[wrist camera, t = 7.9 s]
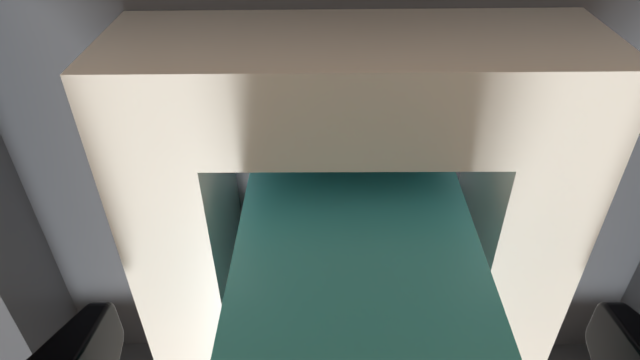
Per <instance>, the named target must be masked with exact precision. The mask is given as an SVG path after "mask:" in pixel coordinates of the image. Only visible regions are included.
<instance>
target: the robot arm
mask: <svg viewBox="0 0 640 360" xmlns="http://www.w3.org/2000/svg"><path fill="white" fill-rule="evenodd" d="M585 338H586V344H587V347H588V351H589V354H590V358H591V360H640V314H639V313H638V312H636V311H635V310H634V309H633V308H631V307H630V306H629V305H627V304H626V303H624V302H619V301H603V302H600V303H599V304H597V306H596V308H595V310H594V313H593V315H592V317H591V319H590V322H589V324H588V326H587V328H586V333H585ZM123 341H124V330H123V327H122V324H121V322H120V319H119V316H118V313H117V311H116V308H115V306H114V304H113V303H111V302H91V303H89V304H87V305H86V306H84V307H83V308H82V309H81V310H80V311H79V312H78V313H77V314H76V315H75V316H73V317H72V318H71V319H70V320H69V321H68V322H67V323H66V324H65V325H64V326H63V327H61V328H60V329H59V330H58V331H57V332H56V333H55V334H54V335H53V336H52V337H50V338H49V339H48V340H47V341H46V342H45V343H44V344H43V345H42V346H41V347H39V348H38V349H37V350H36V351H35V352H34V353H33V354H32V355H31V356H30V357H28V358H27V359H26V360H120V355H121V351H122V346H123Z"/></svg>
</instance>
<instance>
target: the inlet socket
mask: <svg viewBox="0 0 640 360" xmlns="http://www.w3.org/2000/svg"><path fill="white" fill-rule="evenodd" d="M60 77H61V80H62V83H63V86H64V89H65V92H66V95H67V98H68V101H69V104H70V107H71V110H72V113H73V117H74V120H75V123H76V126H77V129H78V132H79V135H80V138H81V141H82V144H83V147H84V150H85V153H86V156H87V159H88V162H89V165H90V168H91V171H92V174H93V177H94V180H95V183H96V186H97V189H98V192H99V195H100V198H101V202H102V205H103V208H104V211H105V214H106V217H107V220H108V223H109V226H110V229H111V232H112V235H113V238H114V241H115V244H116V247H117V250H118V253H119V256H120V259H121V262H122V265H123V268H124V271H125V274H126V277H127V280H128V283H129V287H130V290H131V293H132V296H133V299H134V302H135V305H136V308H137V311H138V314H139V317H140V320H141V323H142V326H143V329H144V332H145V335H146V338H147V341H148V344H149V347H150V350H151V353H152V356H153V359H154V360H210V359H211V355H212V350H213V345H214V340H215V336H216V331H217V326H218V321H219V316H220V312H221V307H222V302H223V297H224V293H225V288H226V283H227V278H228V274H229V269H230V264H231V259H232V254H233V250H234V245H235V240H236V235H237V231H238V226H239V221H240V216H241V210H240V203H239V195H238V187H237V180H236V173H258V172H460V177H459V183H460V186H461V189H462V192H463V194H464V197H465V200H466V203H467V206H468V208H469V211H470V214H471V217H472V220H473V223H474V225H475V228H476V231H477V234H478V237H479V239H480V242H481V245H482V248H483V251H484V254H485V256H486V259H487V262H488V265H489V268H490V270H491V273H492V276H493V279H494V282H495V285H496V287H497V290H498V293H499V296H500V299H501V301H502V304H503V307H504V310H505V313H506V316H507V318H508V321H509V324H510V327H511V330H512V333H513V335H514V338H515V341H516V344H517V347H518V349H519V352H520V355H521V358H522V360H548V357H549V355H550V352H551V350H552V347H553V345H554V342H555V340H556V338H557V335H558V333H559V330H560V328H561V325H562V323H563V320H564V318H565V315H566V313H567V311H568V308H569V306H570V303H571V301H572V298H573V296H574V293H575V291H576V288H577V286H578V284H579V281H580V279H581V276H582V274H583V271H584V269H585V266H586V264H587V261H588V259H589V257H590V254H591V252H592V249H593V247H594V244H595V242H596V239H597V237H598V234H599V232H600V230H601V227H602V225H603V222H604V220H605V217H606V215H607V212H608V210H609V207H610V205H611V203H612V200H613V198H614V195H615V193H616V190H617V188H618V185H619V183H620V180H621V178H622V176H623V173H624V171H625V168H626V166H627V163H628V161H629V158H630V156H631V153H632V151H633V149H634V146H635V144H636V141H637V139H638V136H639V134H640V51H638V50H637V49H636V48H635V47H633V46H632V45H631V44H629V43H628V42H627V41H626V40H624V39H623V38H622V37H620V36H619V35H618V34H617V33H615V32H614V31H613V30H611V29H610V28H609V27H608V26H606V25H605V24H604V23H603V22H601V21H600V20H599V19H597V18H596V17H595V16H594V15H592V14H591V13H590V12H588V11H587V10H586V9H585V8H583V7H559V8H433V9H307V10H181V11H123V12H122V13H121V14H120V15H119V16H118V17H117V18H116V19H115V20H114V21H113V22H112V23H111V24H110V25H109V26H108V27H107V28H106V29H105V30H104V31H103V32H102V33H101V34H100V35H99V36H98V37H97V38H96V39H95V40H94V41H93V42H92V43H91V44H90V45H89V46H88V47H87V48H86V49H85V50H84V51H83V52H82V53H81V54H80V55H79V56H78V57H77V58H76V59H75V60H74V61H73V62H72V63H71V64H70V65H69V66H68V67H67V68H66V69H65V70H64V71H63V72H62V73H61V74H60Z"/></svg>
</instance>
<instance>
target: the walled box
mask: <svg viewBox="0 0 640 360" xmlns="http://www.w3.org/2000/svg"><path fill="white" fill-rule="evenodd" d="M559 7H583V8H585V9H586V10H587V11H588V12H590V13H591V14H592V15H594V16H595V17H596V18H597V19H599V20H600V21H601V22H603V23H604V24H605V25H606V26H608V27H609V28H610V29H611V30H613V31H614V32H615V33H617V34H618V35H619V36H620V37H622V38H623V39H624V40H626V41H627V42H628V43H629V44H631V45H632V46H633V47H635V48H636V49H637V50H638V51H640V0H0V360H26V359H27V358H28V357H30V356H31V355H32V354H33V353H34V352H35V351H36V350H37V349H38V348H39V347H41V346H42V345H43V344H44V343H45V342H46V341H47V340H48V339H49V338H50V337H52V336H53V335H54V334H55V333H56V332H57V331H58V330H59V329H60V328H61V327H63V326H64V325H65V324H66V323H67V322H68V321H69V320H70V319H71V318H72V317H73V316H75V315H76V314H77V313H78V312H79V311H80V310H81V309H82V308H83V307H84V306H86V305H87V304H89V303H91V302H111V303H113V304H114V306H115V308H116V311H117V313H118V316H119V319H120V322H121V324H122V327H123V330H124V341H123V346H122V351H121V355H120V360H154V359H153V356H152V353H151V350H150V347H149V344H148V341H147V338H146V335H145V332H144V329H143V326H142V323H141V320H140V317H139V314H138V311H137V308H136V305H135V302H134V299H133V296H132V293H131V290H130V287H129V283H128V280H127V277H126V274H125V271H124V268H123V265H122V262H121V259H120V256H119V253H118V250H117V247H116V244H115V241H114V238H113V235H112V232H111V229H110V226H109V223H108V220H107V217H106V214H105V211H104V208H103V205H102V202H101V198H100V195H99V192H98V189H97V186H96V183H95V180H94V177H93V174H92V171H91V168H90V165H89V162H88V159H87V156H86V153H85V150H84V147H83V144H82V141H81V138H80V135H79V132H78V129H77V126H76V123H75V120H74V117H73V113H72V110H71V107H70V104H69V101H68V98H67V95H66V92H65V89H64V86H63V83H62V80H61V77H60V74H61V73H62V72H63V71H64V70H65V69H66V68H67V67H68V66H69V65H70V64H71V63H72V62H73V61H74V60H75V59H76V58H77V57H78V56H79V55H80V54H81V53H82V52H83V51H84V50H85V49H86V48H87V47H88V46H89V45H90V44H91V43H92V42H93V41H94V40H95V39H96V38H97V37H98V36H99V35H100V34H101V33H102V32H103V31H104V30H105V29H106V28H107V27H108V26H109V25H110V24H111V23H112V22H113V21H114V20H115V19H116V18H117V17H118V16H119V15H120V14H121V13H122V12H123V11H181V10H307V9H433V8H559ZM456 175H457V177H458V180H459V177H460V172H456ZM248 178H249V173H236V180H237V187H238V195H239V203H240V210H241V211H242V207H243V202H244V197H245V192H246V188H247V183H248ZM603 301H619V302H624V303H626V304H627V305H629V306H630V307H631V308H633V309H634V310H635V311H636V312H638V313H639V314H640V134H639V136H638V139H637V141H636V144H635V146H634V149H633V151H632V153H631V156H630V158H629V161H628V163H627V166H626V168H625V171H624V173H623V176H622V178H621V180H620V183H619V185H618V188H617V190H616V193H615V195H614V198H613V200H612V203H611V205H610V207H609V210H608V212H607V215H606V217H605V220H604V222H603V225H602V227H601V230H600V232H599V234H598V237H597V239H596V242H595V244H594V247H593V249H592V252H591V254H590V257H589V259H588V261H587V264H586V266H585V269H584V271H583V274H582V276H581V279H580V281H579V284H578V286H577V288H576V291H575V293H574V296H573V298H572V301H571V303H570V306H569V308H568V311H567V313H566V315H565V318H564V320H563V323H562V325H561V328H560V330H559V333H558V335H557V338H556V340H555V342H554V345H553V347H552V350H551V352H550V355H549V357H548V360H591V358H590V354H589V351H588V347H587V344H586V338H585V333H586V328H587V326H588V324H589V322H590V319H591V317H592V315H593V313H594V310H595V308H596V306H597V304H599V303H600V302H603Z"/></svg>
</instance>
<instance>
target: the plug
mask: <svg viewBox="0 0 640 360" xmlns="http://www.w3.org/2000/svg"><path fill="white" fill-rule="evenodd" d="M210 360H522V358H521V355H520V352H519V349H518V347H517V344H516V341H515V338H514V335H513V333H512V330H511V327H510V324H509V321H508V318H507V316H506V313H505V310H504V307H503V304H502V301H501V299H500V296H499V293H498V290H497V287H496V285H495V282H494V279H493V276H492V273H491V270H490V268H489V265H488V262H487V259H486V256H485V254H484V251H483V248H482V245H481V242H480V239H479V237H478V234H477V231H476V228H475V225H474V223H473V220H472V217H471V214H470V211H469V208H468V206H467V203H466V200H465V197H464V194H463V192H462V189H461V186H460V183H459V180H458V177H457V175H456V172H258V173H249V178H248V183H247V188H246V192H245V197H244V202H243V207H242V211H241V216H240V221H239V226H238V231H237V235H236V240H235V245H234V250H233V254H232V259H231V264H230V269H229V274H228V278H227V283H226V288H225V293H224V297H223V302H222V307H221V312H220V316H219V321H218V326H217V331H216V336H215V340H214V345H213V350H212V355H211V359H210Z"/></svg>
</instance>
